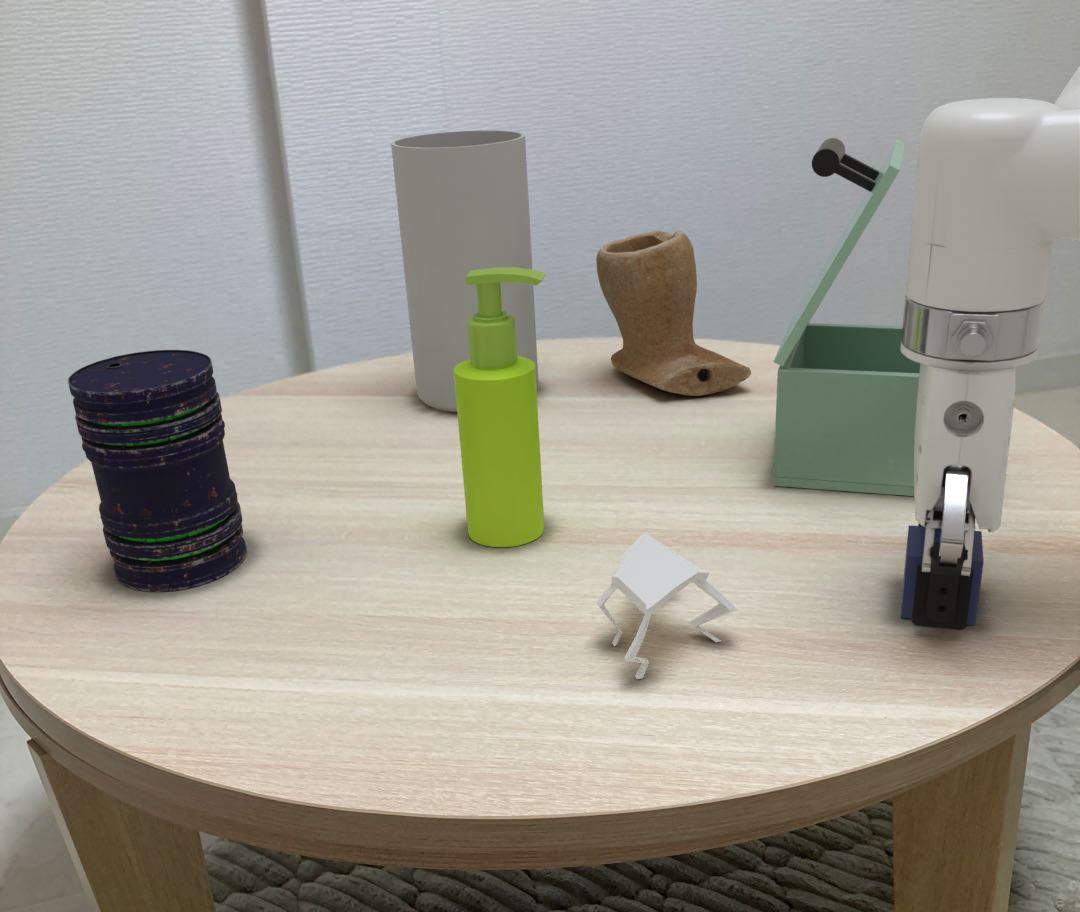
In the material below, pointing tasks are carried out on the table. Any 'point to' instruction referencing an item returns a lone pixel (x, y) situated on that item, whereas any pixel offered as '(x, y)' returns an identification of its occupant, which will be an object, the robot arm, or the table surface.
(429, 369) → the cylinder vase
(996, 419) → the robot arm
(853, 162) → the box lid
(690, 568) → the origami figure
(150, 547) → the dark blue cylinder
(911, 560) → the blue block
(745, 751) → the table surface
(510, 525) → the soap dispenser
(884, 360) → the green box
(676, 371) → the clay pipe
